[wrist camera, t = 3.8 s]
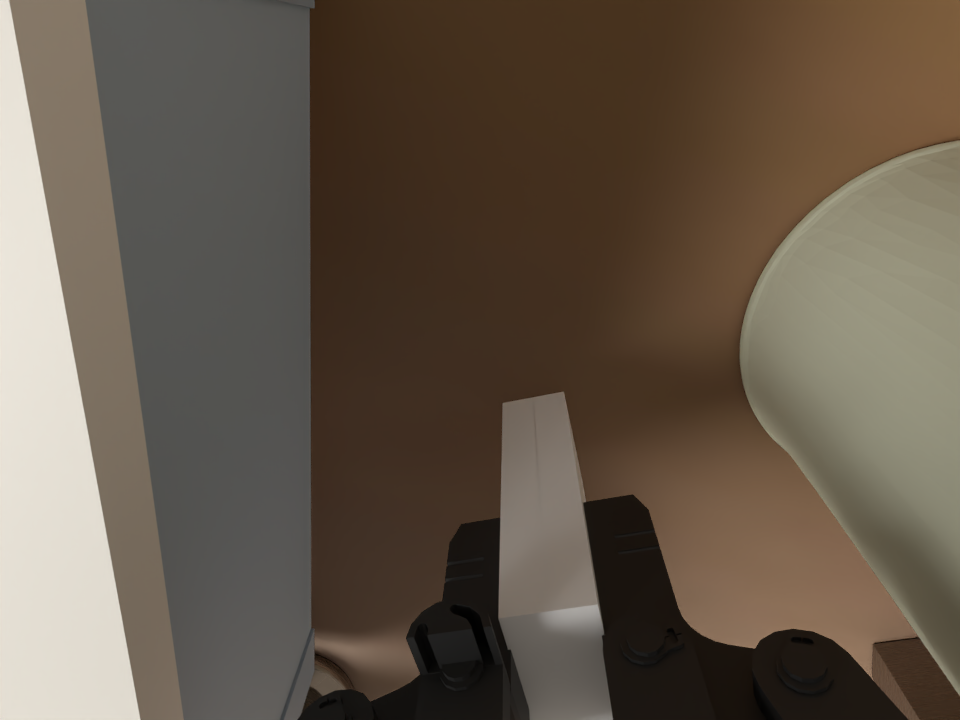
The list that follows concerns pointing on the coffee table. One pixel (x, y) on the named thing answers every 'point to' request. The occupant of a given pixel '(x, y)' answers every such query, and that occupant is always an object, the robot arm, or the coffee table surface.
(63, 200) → the gate
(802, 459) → the can
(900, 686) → the latch post
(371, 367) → the coffee table surface
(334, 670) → the hinge post
